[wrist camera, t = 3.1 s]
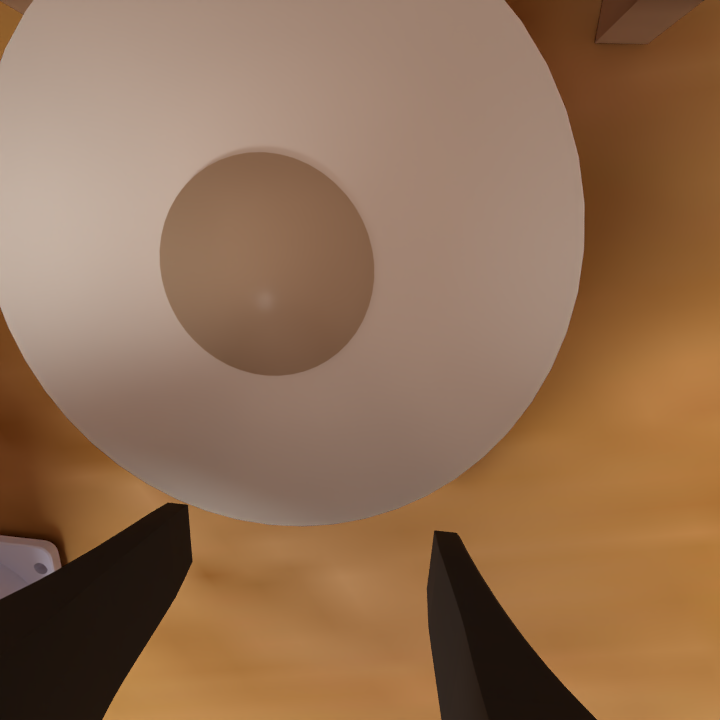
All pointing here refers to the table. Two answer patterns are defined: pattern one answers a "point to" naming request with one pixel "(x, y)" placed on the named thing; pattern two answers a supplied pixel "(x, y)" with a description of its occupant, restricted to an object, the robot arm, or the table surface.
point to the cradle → (616, 23)
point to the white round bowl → (287, 240)
